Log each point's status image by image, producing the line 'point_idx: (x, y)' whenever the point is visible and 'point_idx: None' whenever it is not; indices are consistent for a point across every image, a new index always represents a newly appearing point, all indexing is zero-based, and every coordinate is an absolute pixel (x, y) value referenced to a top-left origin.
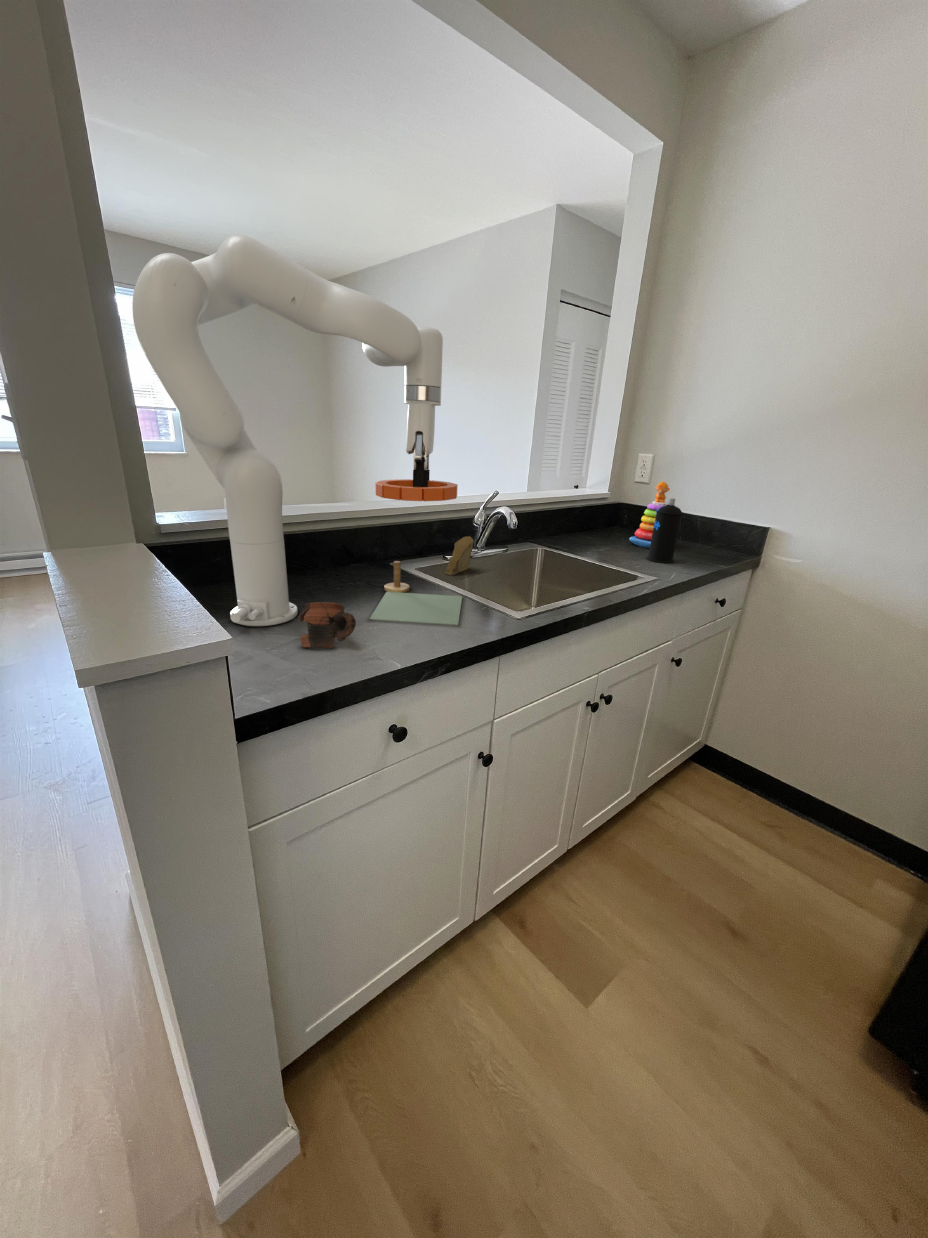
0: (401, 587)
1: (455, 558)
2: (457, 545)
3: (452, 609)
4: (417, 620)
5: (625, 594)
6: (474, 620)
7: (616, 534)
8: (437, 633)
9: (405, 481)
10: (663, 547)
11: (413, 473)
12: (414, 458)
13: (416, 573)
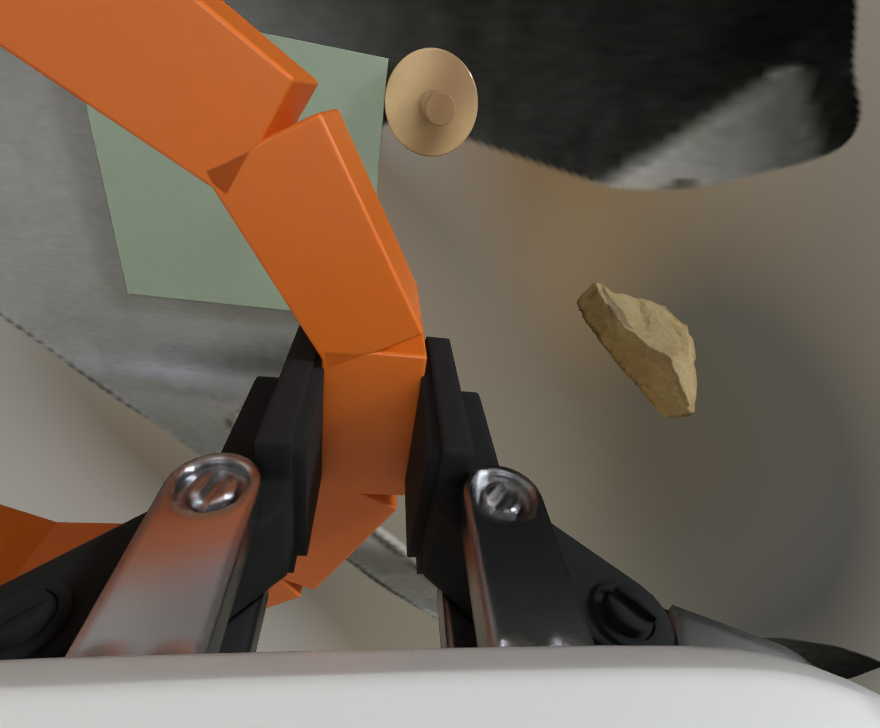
0: (414, 123)
1: (612, 334)
2: (656, 360)
3: (245, 286)
4: (113, 179)
5: (425, 595)
6: (190, 333)
7: (844, 649)
8: (52, 235)
9: (271, 274)
10: None
11: (267, 413)
12: (85, 627)
13: (627, 183)
